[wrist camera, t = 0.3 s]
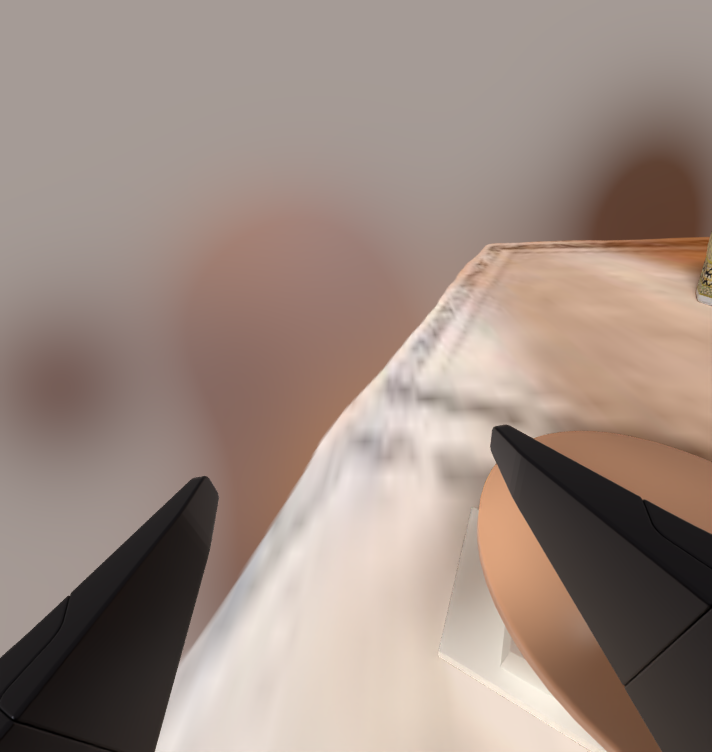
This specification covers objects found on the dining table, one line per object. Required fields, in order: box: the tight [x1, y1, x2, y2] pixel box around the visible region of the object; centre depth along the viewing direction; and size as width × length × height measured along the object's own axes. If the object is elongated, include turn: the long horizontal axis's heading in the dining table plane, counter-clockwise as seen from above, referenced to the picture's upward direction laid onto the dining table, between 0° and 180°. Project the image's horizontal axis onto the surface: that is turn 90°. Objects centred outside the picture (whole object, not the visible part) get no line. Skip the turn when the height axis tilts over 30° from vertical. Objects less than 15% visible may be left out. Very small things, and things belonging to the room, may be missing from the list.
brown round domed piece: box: [477, 431, 712, 752], centre depth 12 cm, size 12×12×6 cm
